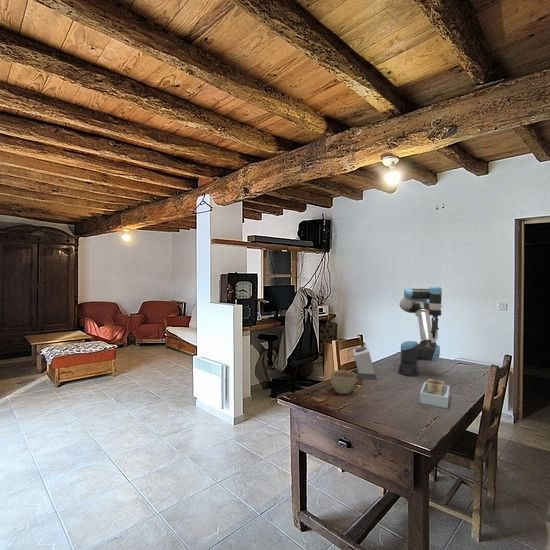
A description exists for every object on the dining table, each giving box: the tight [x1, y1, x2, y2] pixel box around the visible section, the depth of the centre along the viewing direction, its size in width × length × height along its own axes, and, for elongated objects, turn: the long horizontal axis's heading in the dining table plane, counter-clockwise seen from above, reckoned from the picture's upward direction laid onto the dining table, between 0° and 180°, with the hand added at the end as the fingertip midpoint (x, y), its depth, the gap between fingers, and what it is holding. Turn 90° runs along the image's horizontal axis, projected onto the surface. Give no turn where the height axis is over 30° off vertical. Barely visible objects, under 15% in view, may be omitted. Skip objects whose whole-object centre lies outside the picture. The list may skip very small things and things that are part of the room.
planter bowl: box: [329, 370, 357, 395], centre depth 208 cm, size 16×16×11 cm
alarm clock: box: [353, 345, 378, 381], centre depth 243 cm, size 20×16×20 cm
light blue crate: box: [419, 381, 450, 409], centre depth 196 cm, size 14×22×6 cm, turn 150°
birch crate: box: [425, 378, 445, 396], centre depth 196 cm, size 9×9×9 cm
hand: (434, 340), depth 225 cm, fingers open, 13 cm apart
